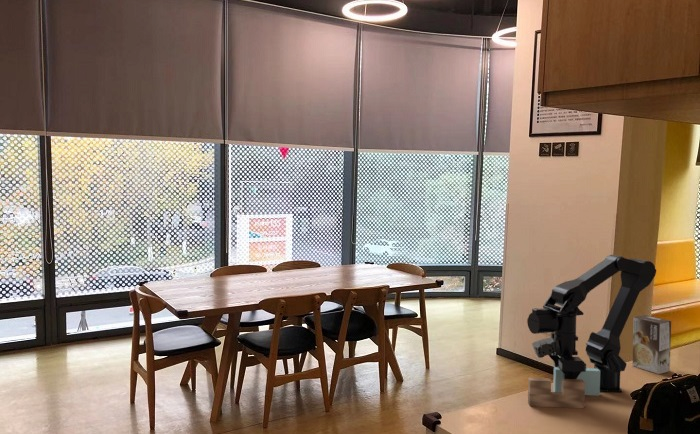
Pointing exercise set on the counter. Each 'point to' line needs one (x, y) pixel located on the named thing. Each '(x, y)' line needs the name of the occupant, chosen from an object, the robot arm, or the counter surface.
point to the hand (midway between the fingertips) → (563, 385)
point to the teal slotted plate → (589, 377)
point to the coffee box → (651, 343)
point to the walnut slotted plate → (556, 393)
